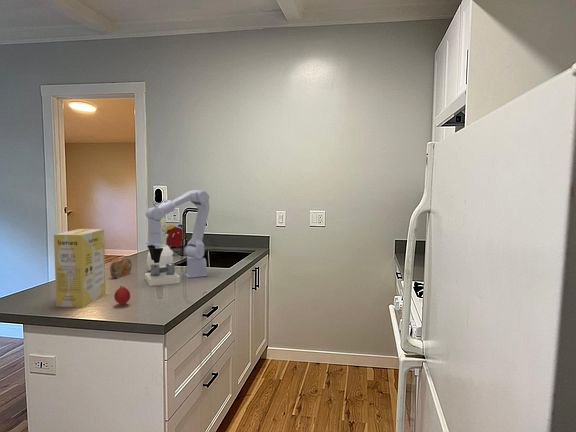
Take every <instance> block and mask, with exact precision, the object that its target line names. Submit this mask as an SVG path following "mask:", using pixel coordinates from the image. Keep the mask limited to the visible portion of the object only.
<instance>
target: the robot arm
mask: <svg viewBox="0 0 576 432" xmlns="http://www.w3.org/2000/svg"><path fill="white" fill-rule="evenodd" d="M209 200H210V195H209V194H208V192H207V191H206V190H205V189H201V190H198V189H191V190H188V191H186V192H185V193H183V194H181V195H180V196H178V197H176V198H174V199H173V200H170V199H168V200H167V199H165V200H163V202H162V203H159V204H156V205H155V206H154V207H149V208H148V209H147V211H146V213H145V216H146V218H147V220H148V221H147V222H148V223H147V224H148V229H147V230H148V241H146V242H145V244H146V245H147V248H148V252H149V251H150V255H151V259H152V260H154V263H159V261H160V256H161V253H162V251H163V248H160V245H163V241H162V237H161V234H162V228H161V219H162V218H163V219H164V217H165V216H167V215H168V214H170V213H172V212H174V211H175V209H176V207H178V206H180V205H182V204H185V203H187V202H191V203H192V204H193V205H195V207H196V208H197V213H196V217H195V222H194V226H193V230H192V236H191V239H189V241H188V242H187V245H186V246H185V247H184V255H185V256H186V270H187V273H185V276H186V277H187V278H188V279H189V278H200V277H201V278H202V277H207V276H208V274H207V269H208V268H207V259H206V257H204V256H205V244H204V242H203V239H204V234H205V230H206V224H207V221H208V216H209V211H210V201H209Z"/></svg>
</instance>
